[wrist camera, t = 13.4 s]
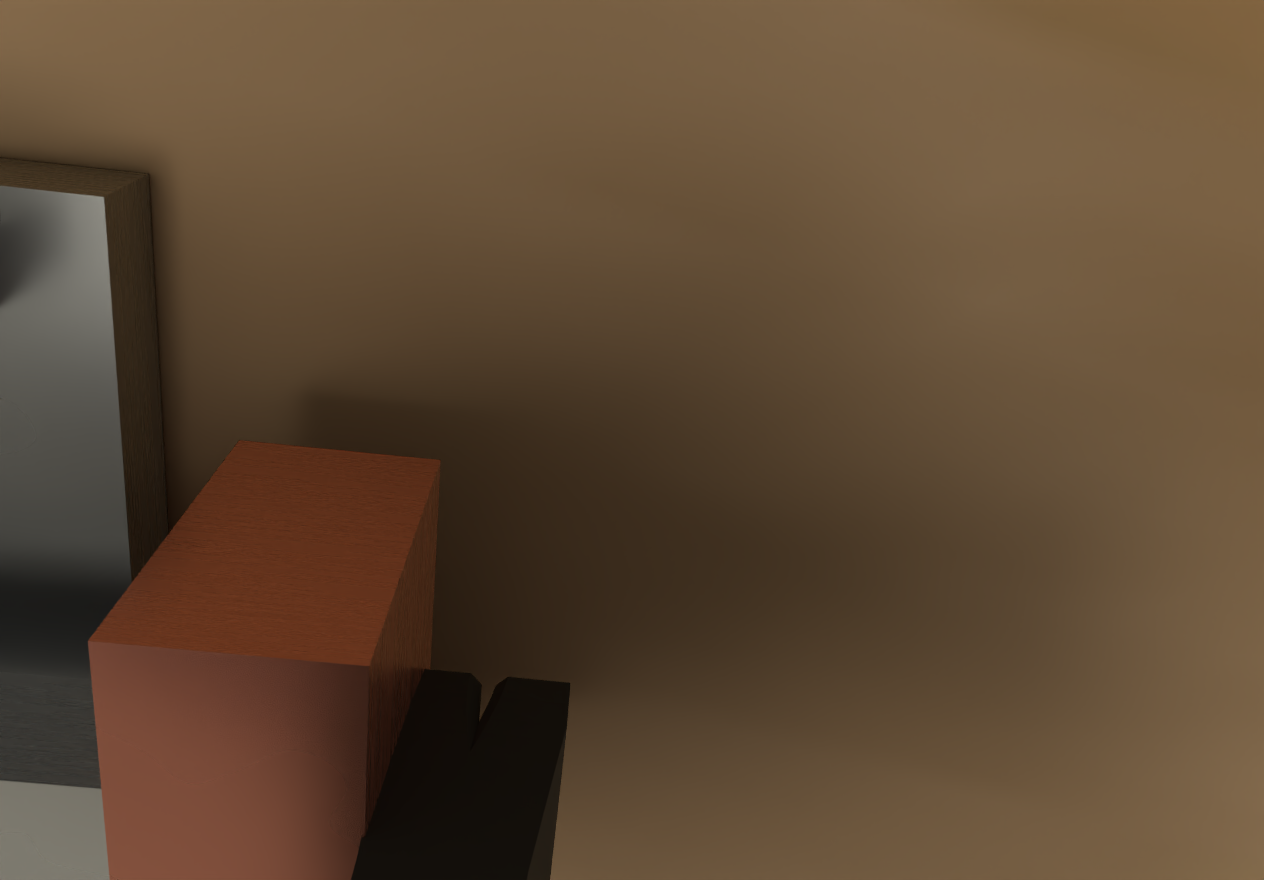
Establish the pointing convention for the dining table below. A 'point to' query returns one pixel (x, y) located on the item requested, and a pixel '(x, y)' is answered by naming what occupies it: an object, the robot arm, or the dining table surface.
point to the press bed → (75, 408)
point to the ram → (235, 683)
